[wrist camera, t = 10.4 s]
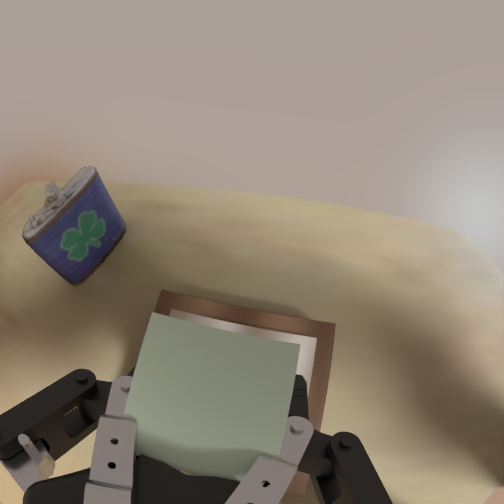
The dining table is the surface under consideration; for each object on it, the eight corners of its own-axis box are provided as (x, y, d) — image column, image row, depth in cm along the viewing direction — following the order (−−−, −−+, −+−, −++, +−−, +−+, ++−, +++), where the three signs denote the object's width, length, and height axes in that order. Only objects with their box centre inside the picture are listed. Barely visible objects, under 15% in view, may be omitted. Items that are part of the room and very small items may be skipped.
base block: (325, 332, 23) (337, 321, 20) (297, 483, 16) (306, 497, 13) (170, 301, 24) (159, 286, 21) (132, 446, 17) (115, 452, 14)
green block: (270, 371, 17) (300, 343, 8) (256, 440, 14) (270, 488, 6) (197, 355, 17) (152, 311, 9) (181, 423, 15) (116, 446, 6)
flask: (118, 218, 28) (81, 147, 19) (133, 229, 28) (96, 156, 18) (64, 277, 24) (6, 221, 15) (77, 292, 24) (15, 237, 14)
